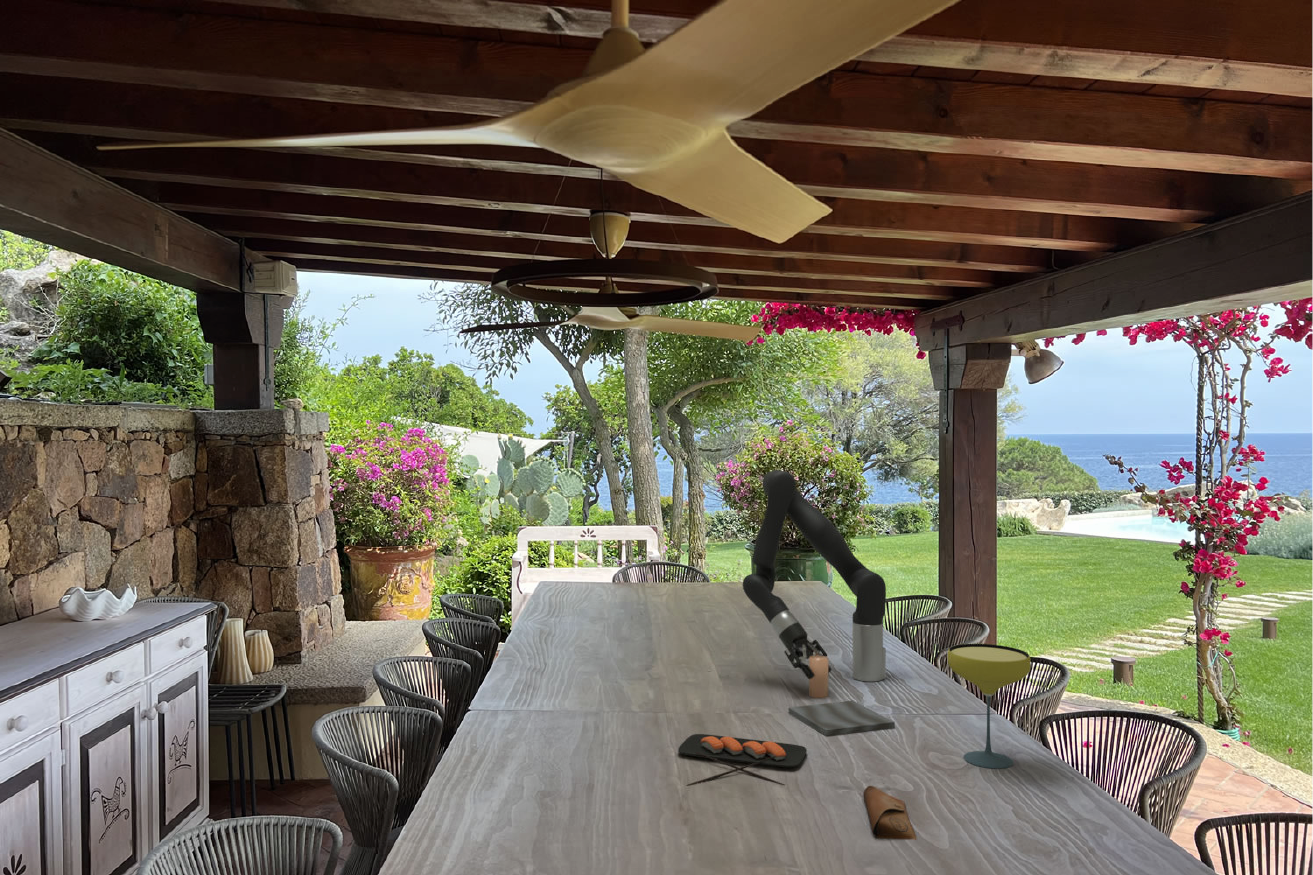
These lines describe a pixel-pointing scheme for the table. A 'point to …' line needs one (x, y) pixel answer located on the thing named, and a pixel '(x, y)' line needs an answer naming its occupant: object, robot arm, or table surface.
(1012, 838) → the table surface
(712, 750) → the sushi plate
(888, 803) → the sunglasses case
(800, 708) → the charcoal board
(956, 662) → the cocktail glass
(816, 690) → the tan dome-topped cylinder
